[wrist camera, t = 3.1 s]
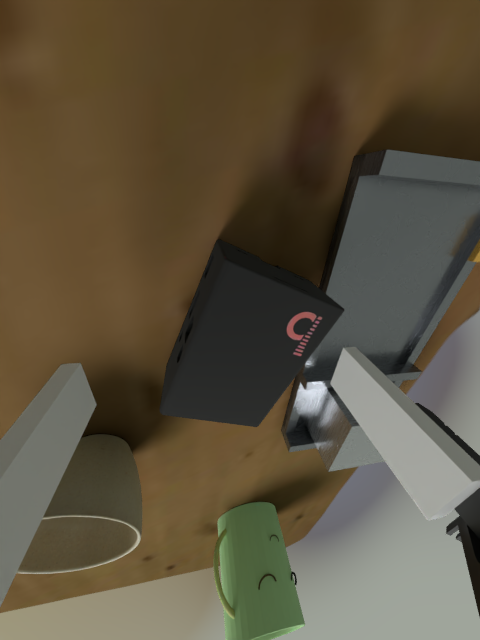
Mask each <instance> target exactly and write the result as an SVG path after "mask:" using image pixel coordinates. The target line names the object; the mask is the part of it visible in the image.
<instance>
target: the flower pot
mask: <svg viewBox="0 0 480 640" xmlns="http://www.w3.org/2000/svg"><path fill="white" fill-rule="evenodd" d="M141 532H142V495H141V485H140V479H139V474H138V470H137V466H136V463H135V459H134V457H133V454H132V452H131V449H130V447H129V445H128V444H127V442H126V441H124V440H123V439H121V438H119V437H116V436H113V435H107V434H96V435H90V436H86V437H83V438H81V439H80V441H79V443H78V445H77V447H76V449H75V451H74V453H73V455H72V457H71V460H70V462H69V464H68V466H67V468H66V470H65V472H64V474H63V476H62V478H61V481H60V483H59V485H58V487H57V489H56V491H55V493H54V495H53V497H52V499H51V501H50V504H49V506H48V508H47V510H46V512H45V514H44V516H43V518H42V520H41V522H40V525H39V527H38V529H37V531H36V533H35V535H34V537H33V539H32V541H31V543H30V545H29V548H28V550H27V552H26V554H25V556H24V558H23V560H22V562H21V564H20V566H19V568H18V571H17V573H23V574H49V573H62V572H70V571H77V570H82V569H87V568H92V567H96V566H99V565H102V564H106V563H109V562H111V561H114V560H116V559H118V558H121V557H122V556H124V555H126V554H128V553H129V552H131V551H132V550H133V549H134V548H135V547H136V546H137V545H138V544H139V542H140V540H141Z"/></svg>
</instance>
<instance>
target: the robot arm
mask: <svg viewBox="0 0 480 640" xmlns="http://www.w3.org/2000/svg"><path fill="white" fill-rule="evenodd" d="M330 384H331V385H332V387H333V388H334V390H335V391H336V393H337V394H338V395H339V397H340V398H341V400H342V401H343V402H344V404H345V405H346V407H347V408H348V409H349V411H350V412H351V414H352V415H353V417H354V418H355V419H356V421H357V422H358V424H359V425H360V426H361V428H362V429H363V431H364V432H365V433H366V435H367V436H368V438H369V439H370V440H371V442H372V443H373V445H374V446H375V448H376V449H377V450H378V452H379V453H380V455H381V456H382V457H383V459H384V460H385V462H386V463H387V464H388V466H389V467H390V468H391V470H392V471H393V473H394V474H395V476H396V477H397V479H398V480H399V481H400V482H401V484H402V486H403V487H404V488H405V490H406V491H407V493H408V494H409V495H410V497H411V498H412V499H413V501H414V503H415V504H416V505H417V507H418V508H419V510H420V511H421V512H422V514H423V515H424V517H425V518H426V519H427V521H429V520H434V519H438V518H442V517H445V516H446V515H448V514H449V513H450V512H451V511H453V510H454V509H455V510H456V511H457V512H458V514H459V515H460V516H459V517H458V518H456V519H455V520H454V521H453V522H451V523H450V524H449V525H448V526H447V529H446V530H447V531H446V533H447V534H448V535H452V534H453V533H455V532H456V531H457V530H459V532H460V533H459V534H458V535H457V536H456V539H457V540H459V541H461V542H462V544H463V549H464V553H465V557H466V561H467V565H468V570H469V574H470V578H471V582H472V586H473V590H474V595H475V599H476V603H477V608H478V612H479V616H480V456H479V455H478V454H477V453H476V452H475V451H474V450H473V449H472V448H471V447H469V446H468V445H467V444H466V443H465V442H464V441H463V440H462V439H461V438H460V437H459V436H458V435H455V433H454V432H453V431H452V430H451V429H450V428H449V427H448V426H445V425H444V423H443V422H442V421H441V420H440V419H439V418H438V417H437V416H436V415H435V414H434V413H433V412H431V411H430V410H428V409H427V408H425V407H424V406H422V405H420V404H419V403H414V402H413V401H412V400H411V399H410V398H408V397H407V396H406V395H405V394H404V393H403V392H402V391H401V390H400V389H399V388H398V387H397V386H396V385H395V384H394V383H393V382H392V381H391V380H390V379H389V378H388V377H387V376H385V375H384V374H383V373H382V372H381V371H380V370H379V369H378V368H377V367H376V366H375V365H374V364H373V363H372V362H371V361H370V360H369V359H368V358H367V357H366V356H365V355H363V354H362V353H361V352H360V351H359V350H358V349H357V348H356V347H345V348H343V350H342V352H341V355H340V358H339V361H338V363H337V366H336V369H335V372H334V374H333V377H332V380H331V383H330ZM96 405H97V404H96V402H95V399H94V397H93V394H92V391H91V389H90V386H89V383H88V381H87V378H86V376H85V373H84V370H83V368H82V365H81V363H73V364H61V365H60V367H59V368H58V369H57V370H56V372H55V373H54V374H53V375H52V377H51V378H50V379H49V380H48V382H47V383H46V384H45V385H44V387H43V388H42V389H41V390H40V392H39V393H38V394H37V395H36V397H35V398H34V399H33V400H32V402H31V403H30V404H29V405H28V407H27V408H26V409H25V410H24V412H23V413H22V414H21V415H20V417H19V418H18V419H17V420H16V422H15V423H14V424H13V425H12V427H11V428H10V429H9V430H8V431H7V433H6V434H5V435H4V436H3V438H2V439H1V440H0V606H1V604H2V602H3V600H4V598H5V596H6V594H7V592H8V589H9V587H10V585H11V583H12V581H13V579H14V577H15V575H16V573H17V571H18V568H19V566H20V564H21V562H22V560H23V558H24V556H25V554H26V552H27V550H28V548H29V545H30V543H31V541H32V539H33V537H34V535H35V533H36V531H37V529H38V527H39V525H40V522H41V520H42V518H43V516H44V514H45V512H46V510H47V508H48V506H49V504H50V501H51V499H52V497H53V495H54V493H55V491H56V489H57V487H58V485H59V483H60V481H61V478H62V476H63V474H64V472H65V470H66V468H67V466H68V464H69V462H70V460H71V457H72V455H73V453H74V451H75V449H76V447H77V445H78V443H79V441H80V439H81V437H82V434H83V432H84V430H85V428H86V426H87V424H88V422H89V420H90V418H91V416H92V413H93V411H94V409H95V407H96Z"/></svg>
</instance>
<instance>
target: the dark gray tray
mask: <svg viewBox="0 0 480 640" xmlns="http://www.w3.org/2000/svg"><path fill="white" fill-rule="evenodd" d="M476 262H480V162H479V161H471V160H464V159H456V158H448V157H441V156H433V155H425V154H418V153H410V152H402V151H395V150H382V151H377V152H373V153H368V154H363V155H358V156H354V160H353V163H352V167H351V171H350V175H349V178H348V182H347V186H346V190H345V193H344V197H343V201H342V205H341V208H340V212H339V216H338V219H337V223H336V227H335V231H334V234H333V238H332V242H331V246H330V249H329V253H328V257H327V261H326V264H325V268H324V272H323V276H322V279H321V283H320V287H319V289H320V290H322V291H323V292H324V293H325V294H327V295H328V296H329V297H330V298H332V299H333V300H334V301H335V302H337V303H338V304H339V305H340V306H342V307H343V308H344V312H343V314H342V315H341V316H340V318H339V319H338V320H337V322H336V323H335V324H334V326H333V327H332V328H331V330H330V331H329V332H328V334H327V335H326V336H325V338H324V339H323V340H322V342H321V343H320V344H319V346H318V347H317V348H316V350H315V351H314V352H313V354H312V355H311V356H310V358H309V359H308V360H307V362H306V363H305V364H304V366H303V367H302V368H301V370H300V371H299V372H298V374H297V375H296V377H295V381H294V384H293V388H292V392H291V395H290V399H289V403H288V407H287V410H286V414H285V418H284V422H283V425H282V429H281V431H282V434H283V437H284V440H285V443H286V445H287V448H288V451H289V452H293V451H300V450H306V449H312V448H317V449H318V451H319V454H320V456H321V458H322V460H323V462H324V464H325V466H326V468H327V470H328V472H330V471H335V470H341V469H346V468H352V467H357V466H363V465H368V464H373V463H379V462H385V460H384V459H383V457H382V456H381V455H380V453H379V452H378V450H377V449H376V448H375V446H374V445H373V443H372V442H371V440H370V439H369V438H368V436H367V435H366V433H365V432H364V431H363V429H362V428H361V426H360V425H359V424H358V422H357V421H356V419H355V418H354V417H353V415H352V414H351V412H350V411H349V409H348V408H347V407H346V405H345V404H344V402H343V401H342V400H341V398H340V397H339V395H338V394H337V393H336V391H335V390H334V388H333V387H332V385H331V384H330V383H331V380H332V377H333V374H334V372H335V369H336V366H337V363H338V361H339V358H340V355H341V352H342V350H343V348H345V347H356V348H357V349H358V350H359V351H360V352H361V353H362V354H363V355H365V356H366V357H367V358H368V359H369V360H370V361H371V362H372V363H373V364H374V365H375V366H376V367H377V368H378V369H379V370H380V371H381V372H382V373H383V374H384V375H385V376H387V377H388V378H389V379H390V380H391V381H392V382H393V383H394V384H395V385H396V386H397V387H398V388H399V387H400V385H401V383H402V382H403V380H412V379H417V378H418V377H419V375H420V374H421V372H422V371H421V370H419V369H418V368H417V367H416V366H414V365H413V364H414V362H415V361H416V359H417V358H418V356H419V354H420V353H421V351H422V349H423V348H424V346H425V345H426V343H427V341H428V340H429V338H430V337H431V335H432V333H433V332H434V330H435V328H436V327H437V325H438V324H439V322H440V320H441V319H442V317H443V315H444V314H445V312H446V311H447V309H448V307H449V306H450V304H451V303H452V301H453V299H454V298H455V296H456V294H457V293H458V291H459V290H460V288H461V286H462V285H463V283H464V282H465V280H466V278H467V277H468V275H469V273H470V272H471V270H472V269H473V267H474V265H475V264H476Z"/></svg>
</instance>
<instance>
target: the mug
mask: <svg viewBox="0 0 480 640" xmlns="http://www.w3.org/2000/svg"><path fill="white" fill-rule="evenodd" d="M218 536H219V538H218V540H217V543H216V546H215V551H214V577H215V583H216V588H217V592H218V595H219V598H220V600H221V603H222V605H223V607H224V620H225V621H224V622H225V636H226V640H271V639H273V638H276V637H279V636H282V635H284V634H287V633H290V632H292V631H295V630H297V629H299V628H301V627H303V626H305V623H304V619H303V615H302V611H301V607H300V603H299V599H298V595H297V591H296V587H295V585H296V583H297V581H296V580H297V579H296V575H295V573H294V572H292V571H291V568H290V564H289V560H288V556H287V552H286V548H285V544H284V540H283V536H282V532H281V528H280V524H279V520H278V516H277V512H276V509H275V506H274V505H273V504H271V503H268V502H254V503H248V504H244V505H241V506H238V507H235V508H233V509H231V510H229V511H227V512H226V513H224V514H223V515H222V516H221V517H220V518H219V519H218ZM219 550H220V565H221V579H222V586H221V583H220V578H219V570H218V555H219ZM292 574H294V576H295V583H294V580H293V575H292Z"/></svg>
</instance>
